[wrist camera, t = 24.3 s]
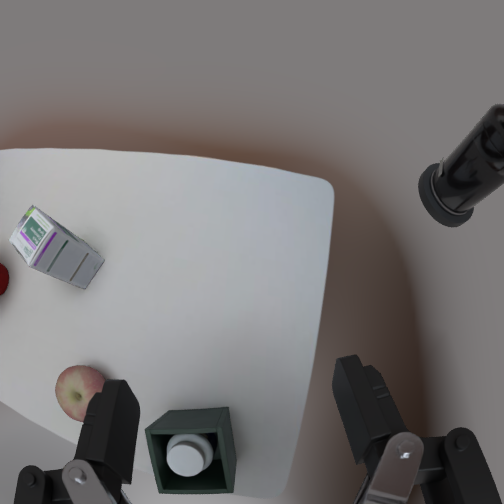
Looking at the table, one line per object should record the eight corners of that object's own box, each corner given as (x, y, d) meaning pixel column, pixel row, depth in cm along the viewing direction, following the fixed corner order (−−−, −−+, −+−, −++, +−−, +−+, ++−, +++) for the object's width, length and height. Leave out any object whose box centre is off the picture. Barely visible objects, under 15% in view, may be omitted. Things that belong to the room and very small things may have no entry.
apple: (114, 423, 35) (89, 436, 28) (71, 403, 36) (42, 410, 28) (124, 374, 38) (98, 379, 30) (80, 356, 38) (50, 356, 30)
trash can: (228, 406, 37) (221, 426, 27) (236, 460, 34) (233, 492, 24) (168, 410, 36) (144, 429, 26) (178, 462, 34) (158, 493, 24)
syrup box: (106, 259, 43) (55, 223, 29) (84, 291, 41) (27, 266, 27) (83, 240, 43) (32, 201, 30) (63, 270, 42) (6, 240, 28)
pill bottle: (216, 418, 36) (207, 439, 27) (220, 453, 34) (213, 482, 25) (176, 418, 36) (156, 438, 26) (181, 453, 34) (163, 480, 25)
